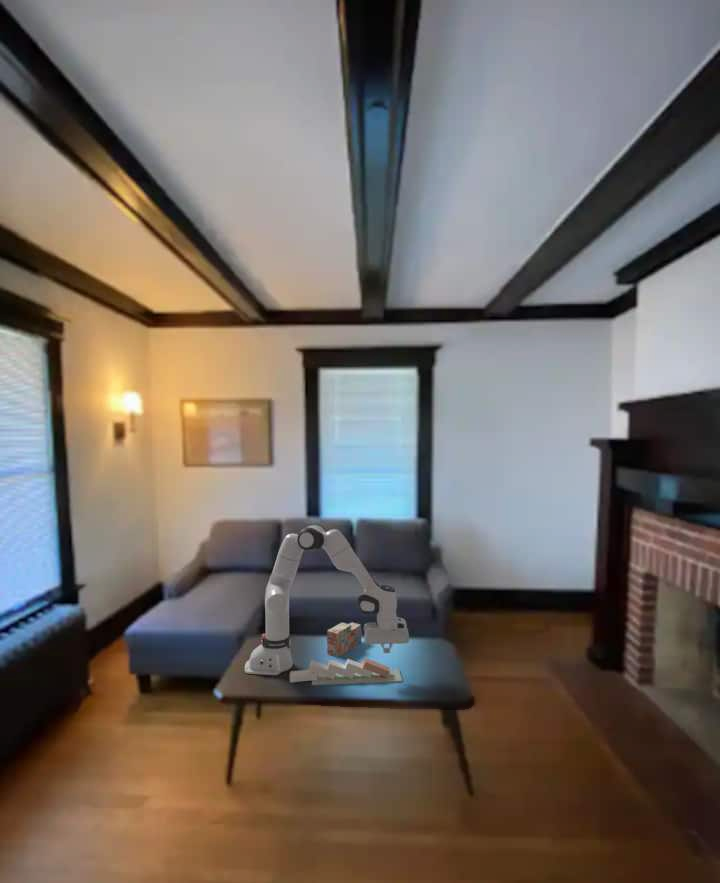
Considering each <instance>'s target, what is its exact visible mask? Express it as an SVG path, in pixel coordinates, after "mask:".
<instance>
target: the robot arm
mask: <svg viewBox="0 0 720 883" xmlns="http://www.w3.org/2000/svg"><path fill="white" fill-rule="evenodd" d="M319 549H323V550H324V551H325V552H326V553H327V556H328V557H329V558H330V560H331V562H332V564H333V566H335V568H336V570H338V571H342V572H348V573H351V574H352V575H354V576H355V578H356V579H357V580H358V582H359V584H360V586H362V588H363V591H364V592H362V593H361V594H360V595H359V596H358V597H357V599H356V608H357V609H358V611H359V612H360V613H362V614H364V615H376V621H377V622H375V621H373V622H366V623H365V624H364V625H363V631H364V637H363V638H364V643H365V644H366V645H381V648H382V649H383V651H382V653H383V654H390V653H391V649H392V648H393V645H394V644H398V645H399V644H409V642H410V634H409V630H408V627H407V622H406V620H405V618H402V617H399V616H397V612H396V611H397V607H398V606H397V605H398V603H397V602H398V600H397V592H396V590H395V588H394V587H392V586H391V585H387V584H381V585H380V584H379V583H377V582H376V581H375V579H374V578H373V576H372V574H371V573H370V572H369V570H368V569H367V568H366V566H365V564H364V563H363V562H362V560H361V559H360V558H359V557H358V556H357V555H356V554H357V553H355V551H354V549H353V548H352V546H351V545H350V543H349V541H348V539H347V538H346V537H345V536H344V535H343V533H342V531H340V530H339V529H336V528H335V529H330V530H328V531H327V530H326V528H325V527H324V526H322V525H320V524H314V525H308V526H306V527H304V528H302V529H301V530H300V531H299V533H298V534H297V533H288V534H287V535H285V537H284V539H283V540H282V543H281V545H280V547H279V550H278V553H277V556H276V558H275V559H276V560H275V563H274V566H273V569H272V572H271V574H270V576H269V579H268V582H267V585H266V588H265V594H264V608H265V609H264V612H265V614H264V615H265V633H262V634H261V642H260V644H259V645H258V646H257V647H256V648H254V649H253V650H252V652H251V653H250V656H249V659H248V660H247V661H246V662H245V665H244V672H245V673H246V674H249V675H250V674H251V675H263V676H264V675H266V676H278V675H280V674H281V673H283V672H286V671H289V670H290V669H291V668H292V667H293V664H294V662H293V660H292V654H291V634H290V590H291V587H292V584H293V582H294V580H295V577H296V575H297V572H298V568H299V565H300V562H301V559H302V556H303V552H304V551H306V552H308V551H310V552H311V551H315V550H319ZM385 645H388V647H385Z"/></svg>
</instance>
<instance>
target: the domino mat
mask: <svg viewBox="0 0 720 883" xmlns="http://www.w3.org/2000/svg"><path fill="white" fill-rule="evenodd" d="M402 678H403V677H402V676H401V672H400V669H390V673H389V675H388V678H387V677H384V676H382V675H379V674H377V673H374V672H373V673H372V675H371V678H368V677H365V676H363V675H360V674H357V673H355V674H354V676H353V679H351V678H348V677H346V676H343V675H340V674H337V673H336V675H335V678H334V680H333V679H331V678H328V677H325V676H323V675H320V674H317V680H312V681H311V686H326V685H327V686H329V685H331V686H332V685H352V684H353V685H355V684H356V685H357V684H379V683H381V684H382V683H383V684H384V683H387V684H388V683H402V682H403V679H402Z"/></svg>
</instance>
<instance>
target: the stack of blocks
mask: <svg viewBox="0 0 720 883" xmlns="http://www.w3.org/2000/svg"><path fill="white" fill-rule="evenodd" d="M326 635H327V636H326V643H327V644H326V645H327V646H326V647H327V649H326V651H327V652H326V653H327V655H328V656H332V657H335V658H339V657H341V655H343V654H345V653H347V652H348V651H349V650H351V649H352V648H353V647H355V646H357V645H359V644H360V643H361V642H362V624H359V623H357V622H356V623H355V622H350V623H345V622H340V623H339V624H336V625H335V626H333V627H332V628H329V629H327V632H326Z"/></svg>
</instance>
